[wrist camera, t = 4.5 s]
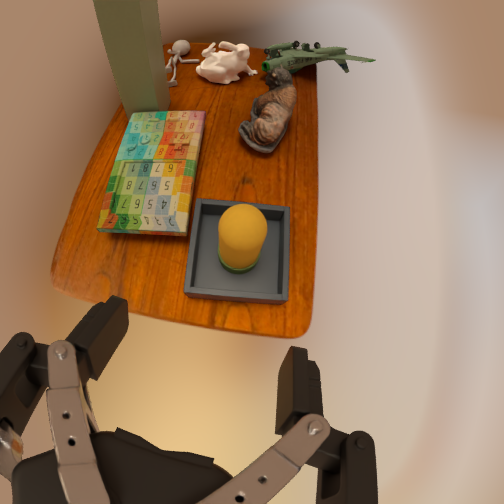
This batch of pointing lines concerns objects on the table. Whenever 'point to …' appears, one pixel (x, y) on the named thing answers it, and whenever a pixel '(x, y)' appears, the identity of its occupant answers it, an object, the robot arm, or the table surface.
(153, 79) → the plinth
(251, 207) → the corn toy
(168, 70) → the figurine
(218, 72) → the rabbit figurine
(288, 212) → the basket
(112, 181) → the puzzle game
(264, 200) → the table surface
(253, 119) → the cat statue
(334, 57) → the airplane
